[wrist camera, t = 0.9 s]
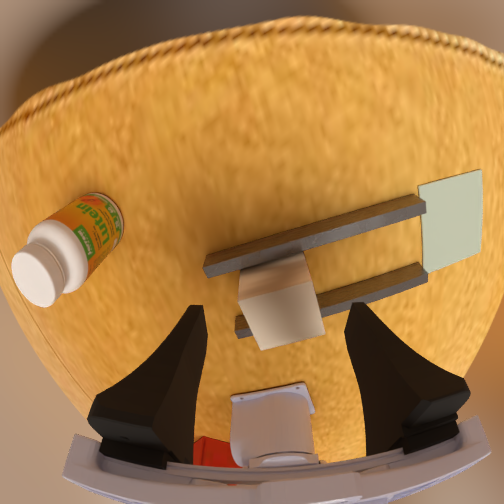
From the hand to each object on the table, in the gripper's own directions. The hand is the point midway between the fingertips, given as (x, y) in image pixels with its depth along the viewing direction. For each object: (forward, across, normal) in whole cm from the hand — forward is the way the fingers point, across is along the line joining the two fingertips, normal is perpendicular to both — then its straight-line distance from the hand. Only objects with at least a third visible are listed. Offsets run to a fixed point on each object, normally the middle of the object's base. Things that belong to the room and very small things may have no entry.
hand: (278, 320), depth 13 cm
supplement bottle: (+10, +14, -1) cm, 18 cm away
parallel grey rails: (+10, -5, +3) cm, 11 cm away
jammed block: (+9, -1, +4) cm, 10 cm away
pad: (+10, -18, -1) cm, 20 cm away
